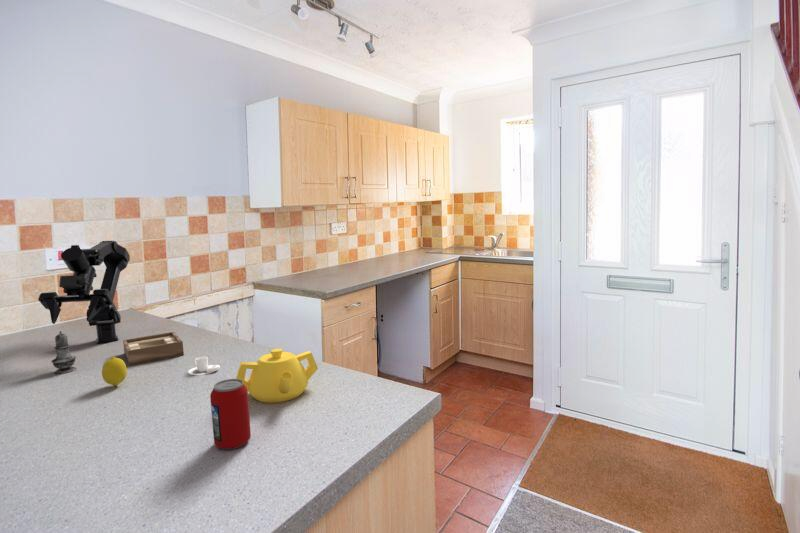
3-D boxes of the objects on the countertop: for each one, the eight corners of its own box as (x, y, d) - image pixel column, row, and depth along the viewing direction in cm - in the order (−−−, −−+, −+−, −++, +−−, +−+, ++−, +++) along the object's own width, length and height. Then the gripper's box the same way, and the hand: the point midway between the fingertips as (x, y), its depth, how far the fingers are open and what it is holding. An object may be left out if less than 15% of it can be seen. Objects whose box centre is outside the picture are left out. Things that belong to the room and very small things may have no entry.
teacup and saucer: (224, 371, 129) (223, 357, 128) (196, 379, 123) (195, 365, 123) (210, 364, 135) (209, 351, 134) (183, 372, 129) (182, 358, 129)
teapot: (244, 420, 97) (240, 371, 96) (232, 391, 114) (229, 349, 112) (332, 400, 107) (330, 355, 105) (310, 376, 123) (308, 336, 121)
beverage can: (220, 435, 91) (215, 378, 89) (254, 433, 92) (250, 376, 90) (209, 453, 84) (204, 392, 83) (246, 450, 85) (241, 390, 83)
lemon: (133, 383, 120) (130, 354, 119) (114, 391, 115) (110, 361, 114) (117, 381, 122) (114, 352, 121) (98, 389, 117) (95, 359, 116)
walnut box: (124, 353, 147) (123, 340, 146) (175, 344, 155) (173, 331, 155) (129, 365, 135) (127, 351, 134) (183, 355, 143) (182, 341, 143)
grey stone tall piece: (82, 367, 134) (77, 328, 133) (66, 374, 129) (61, 333, 127) (64, 367, 135) (59, 328, 133) (47, 374, 129) (42, 333, 128)
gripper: (37, 266, 137) (21, 309, 128) (105, 263, 142) (95, 304, 133) (53, 288, 146) (39, 329, 137) (117, 284, 150) (108, 324, 141)
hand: (70, 321), depth 137 cm, fingers open, 9 cm apart
